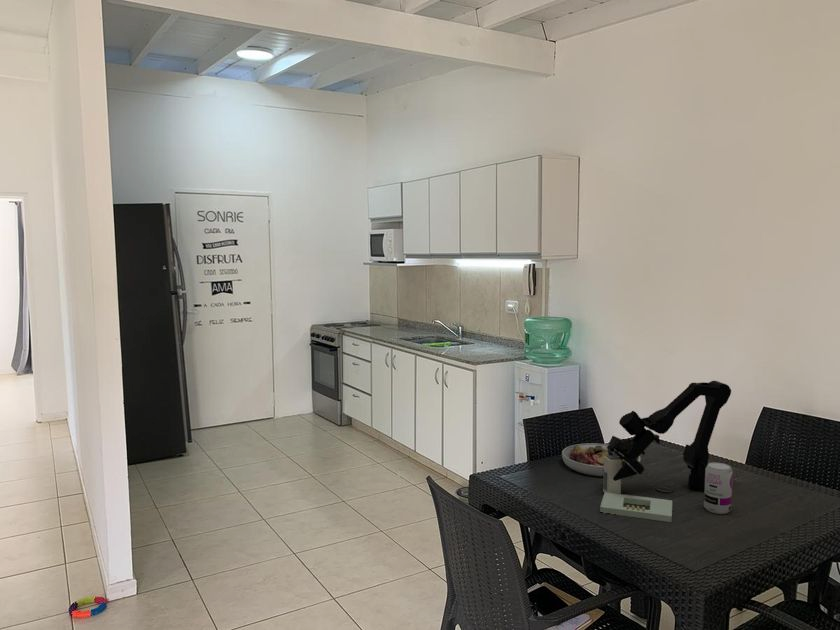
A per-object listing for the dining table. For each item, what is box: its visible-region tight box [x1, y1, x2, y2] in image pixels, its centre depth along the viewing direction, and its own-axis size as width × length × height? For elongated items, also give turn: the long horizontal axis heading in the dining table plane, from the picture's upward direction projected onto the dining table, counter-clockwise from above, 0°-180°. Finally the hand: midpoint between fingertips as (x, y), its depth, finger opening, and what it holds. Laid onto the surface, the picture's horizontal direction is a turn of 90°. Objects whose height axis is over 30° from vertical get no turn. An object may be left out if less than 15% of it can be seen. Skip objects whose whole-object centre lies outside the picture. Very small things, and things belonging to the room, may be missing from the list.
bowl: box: [561, 442, 642, 477], centre depth 268 cm, size 30×30×8 cm
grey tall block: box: [602, 455, 622, 494], centre depth 238 cm, size 5×4×14 cm
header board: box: [599, 492, 673, 523], centre depth 225 cm, size 22×14×3 cm, turn 69°
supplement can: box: [703, 462, 734, 515], centre depth 223 cm, size 8×8×15 cm
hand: (608, 475), depth 238 cm, fingers open, 8 cm apart
